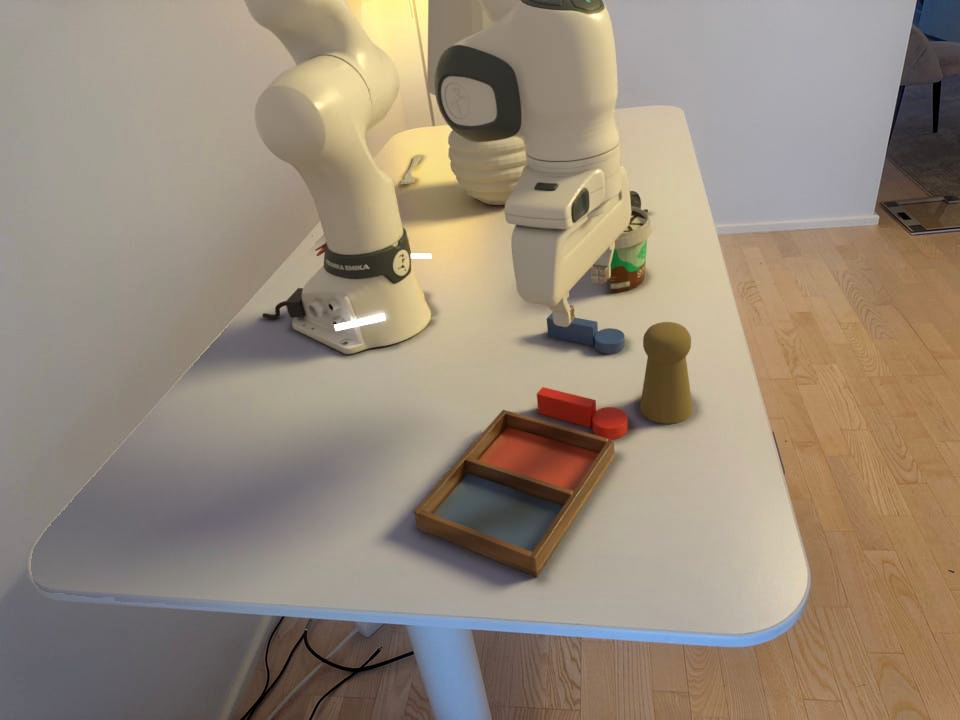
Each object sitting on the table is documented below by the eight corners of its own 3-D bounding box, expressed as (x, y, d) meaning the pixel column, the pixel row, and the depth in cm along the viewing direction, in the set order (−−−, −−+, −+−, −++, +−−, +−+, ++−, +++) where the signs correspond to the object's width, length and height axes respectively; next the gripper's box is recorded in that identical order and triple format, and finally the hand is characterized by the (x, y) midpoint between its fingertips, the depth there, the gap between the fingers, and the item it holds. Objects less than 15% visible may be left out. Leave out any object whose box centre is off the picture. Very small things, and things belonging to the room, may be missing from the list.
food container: (651, 297, 107) (651, 235, 101) (609, 297, 108) (607, 236, 103) (652, 259, 116) (652, 201, 111) (613, 260, 118) (612, 203, 112)
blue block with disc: (544, 340, 101) (542, 322, 99) (556, 326, 103) (555, 308, 102) (617, 356, 95) (617, 337, 93) (629, 341, 98) (628, 322, 96)
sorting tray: (417, 529, 74) (413, 511, 72) (505, 426, 86) (503, 409, 84) (537, 577, 67) (535, 558, 65) (614, 458, 79) (614, 439, 77)
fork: (424, 155, 179) (423, 148, 178) (412, 190, 159) (410, 182, 158) (412, 156, 179) (410, 149, 178) (397, 192, 159) (396, 184, 158)
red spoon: (533, 419, 86) (531, 399, 85) (548, 400, 89) (547, 381, 87) (619, 443, 81) (618, 422, 79) (633, 422, 83) (632, 401, 82)
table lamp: (592, 183, 148) (583, -35, 126) (511, 229, 134) (485, -8, 112) (502, 167, 164) (479, -30, 142) (421, 206, 150) (382, -6, 128)
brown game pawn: (655, 387, 88) (655, 309, 82) (701, 401, 85) (705, 322, 79) (630, 413, 85) (628, 334, 79) (677, 430, 81) (679, 349, 75)
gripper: (588, 139, 77) (595, 255, 85) (494, 214, 64) (512, 344, 71) (644, 141, 74) (646, 261, 82) (558, 220, 61) (570, 356, 68)
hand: (583, 300), depth 76 cm, fingers open, 8 cm apart
